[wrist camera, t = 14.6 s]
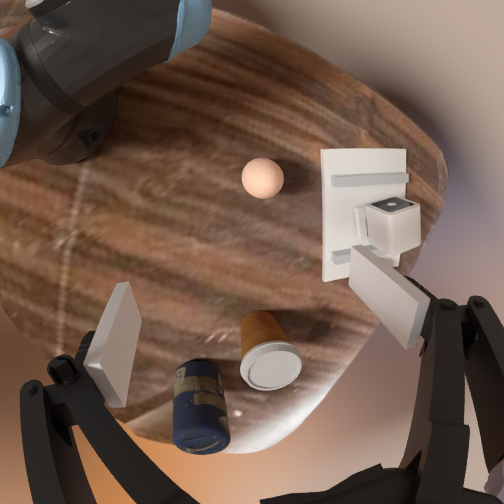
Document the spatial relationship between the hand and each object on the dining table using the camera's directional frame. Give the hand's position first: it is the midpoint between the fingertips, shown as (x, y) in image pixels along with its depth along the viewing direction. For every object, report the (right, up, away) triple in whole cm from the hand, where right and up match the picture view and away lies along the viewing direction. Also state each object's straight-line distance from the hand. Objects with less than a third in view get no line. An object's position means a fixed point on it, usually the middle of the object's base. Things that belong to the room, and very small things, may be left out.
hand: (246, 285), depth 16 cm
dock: (+19, +8, +30) cm, 36 cm away
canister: (-11, -22, +37) cm, 44 cm away
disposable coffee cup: (+1, -11, +35) cm, 36 cm away
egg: (+1, +13, +24) cm, 28 cm away
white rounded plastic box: (+19, +8, +29) cm, 36 cm away
